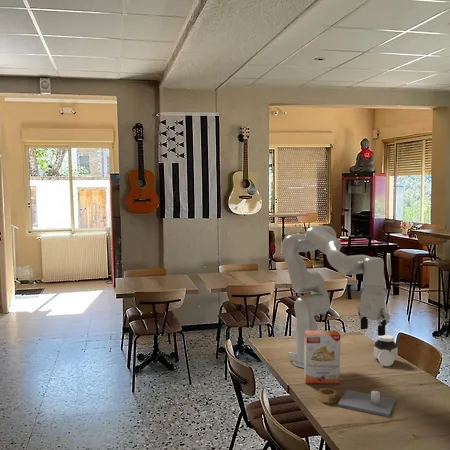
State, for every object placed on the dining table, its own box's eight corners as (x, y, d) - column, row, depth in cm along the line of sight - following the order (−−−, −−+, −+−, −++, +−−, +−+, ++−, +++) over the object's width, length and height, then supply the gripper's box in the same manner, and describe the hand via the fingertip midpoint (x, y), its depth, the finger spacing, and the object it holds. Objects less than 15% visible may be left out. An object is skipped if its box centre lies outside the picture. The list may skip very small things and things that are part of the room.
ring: (316, 401, 178) (316, 393, 178) (321, 394, 184) (321, 386, 184) (333, 404, 175) (333, 396, 175) (338, 397, 181) (338, 390, 181)
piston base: (337, 406, 174) (338, 393, 173) (347, 392, 186) (347, 379, 186) (389, 417, 165) (389, 403, 165) (395, 401, 177) (395, 388, 177)
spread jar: (389, 357, 226) (389, 333, 226) (405, 365, 216) (405, 340, 215) (367, 360, 223) (368, 335, 222) (382, 368, 212) (383, 342, 211)
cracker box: (305, 384, 194) (306, 334, 192) (303, 378, 200) (303, 329, 199) (340, 384, 194) (340, 334, 192) (336, 378, 200) (337, 329, 198)
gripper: (351, 286, 191) (350, 327, 192) (381, 293, 176) (380, 339, 177) (365, 284, 195) (365, 325, 196) (397, 292, 179) (396, 336, 180)
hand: (372, 332), depth 186 cm, fingers open, 9 cm apart
